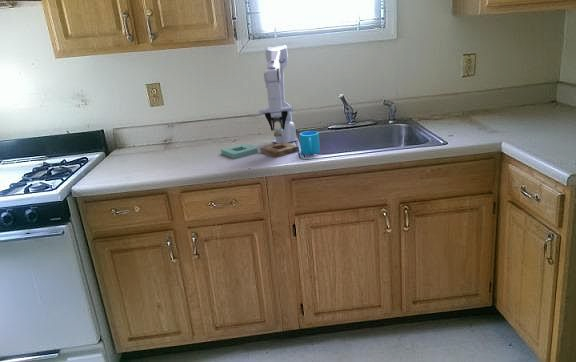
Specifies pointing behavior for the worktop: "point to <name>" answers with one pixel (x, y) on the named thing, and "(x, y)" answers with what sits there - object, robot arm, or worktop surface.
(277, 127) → the lock pin
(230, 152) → the socket board
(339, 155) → the worktop surface
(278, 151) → the mount board
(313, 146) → the mug
